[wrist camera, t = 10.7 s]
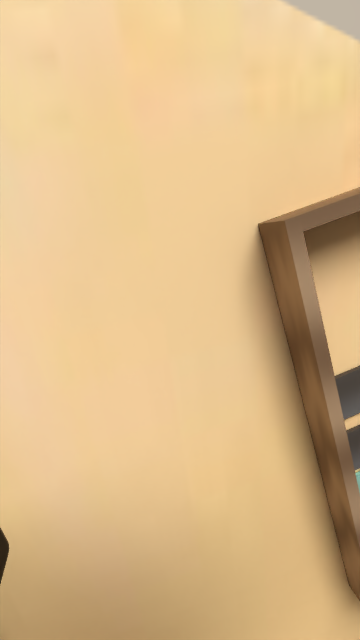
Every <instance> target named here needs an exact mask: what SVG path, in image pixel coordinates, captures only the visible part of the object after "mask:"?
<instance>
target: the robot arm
mask: <svg viewBox="0 0 360 640" xmlns="http://www.w3.org/2000/svg"><path fill="white" fill-rule="evenodd" d="M8 553H9V544H8V541H7V539H6V537H5V535H4V533H3V531H2V530H1V528H0V584H1V580H2V576H3V572H4V568H5V565H6V561H7V557H8Z"/></svg>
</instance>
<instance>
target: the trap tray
mask: <svg viewBox="0 0 360 640" xmlns="http://www.w3.org/2000/svg"><path fill="white" fill-rule="evenodd" d="M358 211H360V187H359V188H357V189H354V190H351V191H348V192H345V193H343V194H340V195H337V196H334V197H331V198H329V199H326V200H323V201H320V202H317V203H315V204H312V205H309V206H306V207H304V208H301V209H298V210H295V211H292V212H290V213H287V214H284V215H281V216H278V217H276V218H273V219H270V220H267V221H265V222H262V223H259V224H258V225H259V229H260V233H261V237H262V241H263V245H264V249H265V253H266V257H267V261H268V265H269V269H270V273H271V277H272V281H273V285H274V289H275V293H276V297H277V301H278V304H279V308H280V312H281V316H282V320H283V324H284V328H285V332H286V336H287V340H288V344H289V348H290V352H291V356H292V360H293V364H294V368H295V372H296V376H297V380H298V384H299V388H300V392H301V396H302V400H303V403H304V407H305V411H306V415H307V419H308V423H309V427H310V431H311V435H312V439H313V443H314V447H315V451H316V455H317V459H318V463H319V467H320V471H321V475H322V479H323V483H324V487H325V491H326V495H327V498H328V502H329V506H330V510H331V514H332V518H333V522H334V526H335V530H336V534H337V538H338V542H339V546H340V550H341V554H342V558H343V562H344V566H345V570H346V574H347V578H348V582H349V586H350V587H351V589H352V590H353V591H354V593H355V594H356V596H357V597H358V599H359V600H360V471H359V472H357V473H355V470H357V469H359V468H360V425H358V426H356V427H354V428H351V429H349V430H347V431H346V428H345V423H344V419H347V418H349V417H351V416H354V415H356V414H358V413H360V366H358V367H356V368H353V369H351V370H349V371H346V372H344V373H341V374H339V375H337V376H334V372H333V367H332V362H331V358H330V353H329V349H328V344H327V339H326V335H325V330H324V325H323V321H322V316H321V311H320V307H319V302H318V297H317V293H316V288H315V283H314V279H313V274H312V270H311V265H310V260H309V256H308V251H307V246H306V242H305V237H304V231H306V230H309V229H312V228H315V227H317V226H320V225H323V224H325V223H328V222H331V221H334V220H336V219H339V218H342V217H345V216H347V215H350V214H353V213H355V212H358Z"/></svg>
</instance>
